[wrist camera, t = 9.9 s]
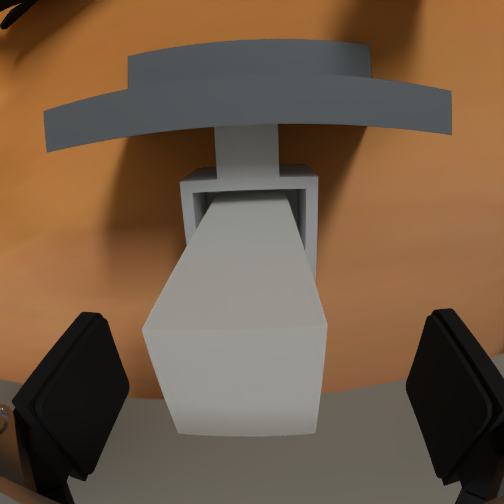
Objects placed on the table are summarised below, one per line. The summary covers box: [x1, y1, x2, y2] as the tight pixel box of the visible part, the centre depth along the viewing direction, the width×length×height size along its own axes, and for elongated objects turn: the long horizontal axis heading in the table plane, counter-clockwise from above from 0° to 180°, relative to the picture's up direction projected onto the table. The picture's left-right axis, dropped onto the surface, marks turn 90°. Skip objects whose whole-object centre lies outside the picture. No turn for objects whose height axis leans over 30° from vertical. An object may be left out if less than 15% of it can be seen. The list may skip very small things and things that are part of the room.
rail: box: [142, 189, 327, 437], centre depth 14 cm, size 4×4×14 cm
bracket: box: [44, 39, 452, 282], centre depth 17 cm, size 18×16×12 cm
